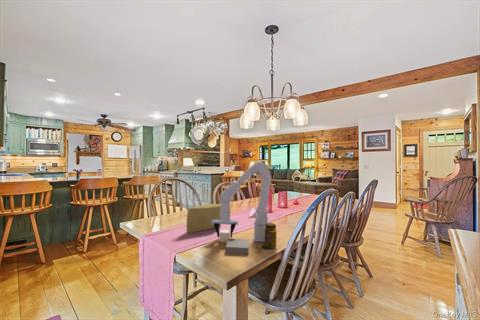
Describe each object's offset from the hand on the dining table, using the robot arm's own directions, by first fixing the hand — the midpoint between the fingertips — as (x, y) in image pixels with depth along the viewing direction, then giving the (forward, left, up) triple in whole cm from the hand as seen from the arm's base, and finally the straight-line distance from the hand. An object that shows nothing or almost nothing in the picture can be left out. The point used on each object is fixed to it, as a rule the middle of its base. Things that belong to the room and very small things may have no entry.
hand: (224, 237), depth 123 cm
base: (-8, +11, -2) cm, 14 cm away
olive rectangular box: (+16, -17, -2) cm, 23 cm away
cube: (0, 0, -2) cm, 2 cm away
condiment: (-24, +8, -2) cm, 25 cm away
